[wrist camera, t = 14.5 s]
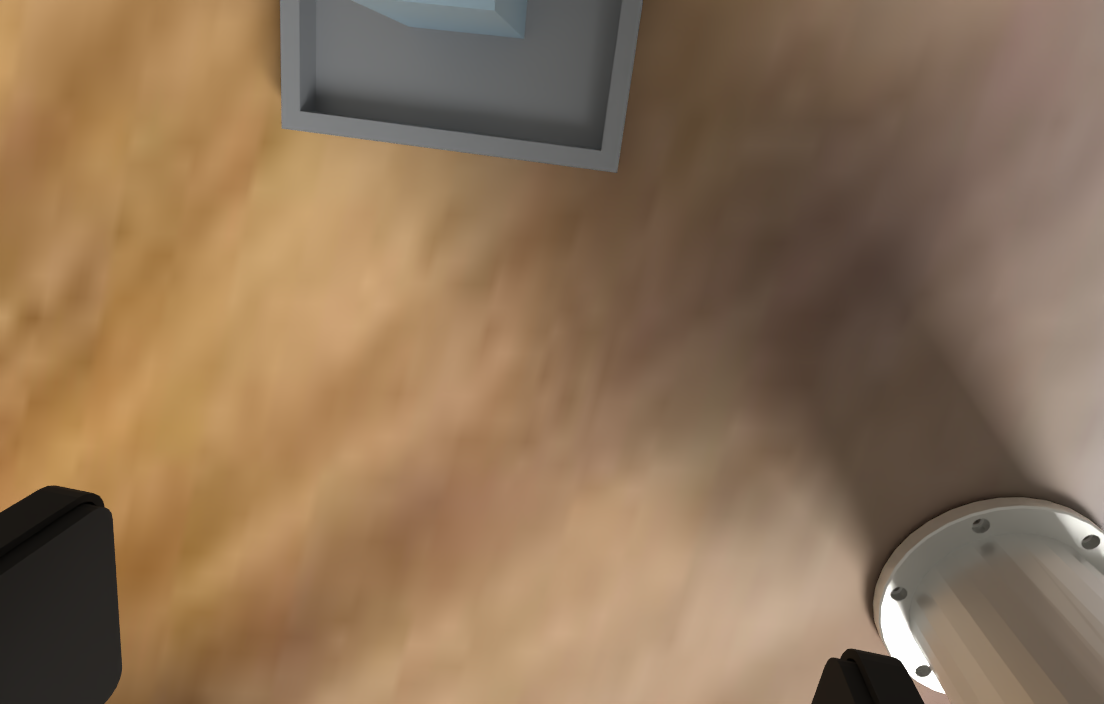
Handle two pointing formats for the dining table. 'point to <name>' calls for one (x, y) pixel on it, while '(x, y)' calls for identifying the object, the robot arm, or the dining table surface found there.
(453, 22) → the slate block
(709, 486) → the dining table surface
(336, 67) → the tray
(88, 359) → the dining table surface
